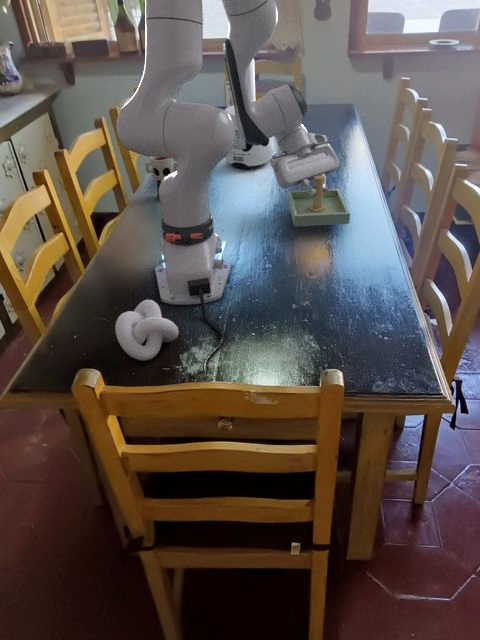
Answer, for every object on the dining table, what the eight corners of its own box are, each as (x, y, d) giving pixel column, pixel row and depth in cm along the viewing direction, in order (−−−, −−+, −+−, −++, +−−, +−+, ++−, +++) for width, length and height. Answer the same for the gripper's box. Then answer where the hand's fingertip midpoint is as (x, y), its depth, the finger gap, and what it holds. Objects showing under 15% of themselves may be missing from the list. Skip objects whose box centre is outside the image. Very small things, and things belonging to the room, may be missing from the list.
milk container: (265, 152, 196) (264, 100, 184) (278, 168, 183) (278, 113, 171) (220, 157, 192) (216, 105, 181) (230, 174, 179) (226, 119, 168)
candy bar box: (248, 128, 219) (246, 85, 209) (237, 130, 217) (234, 87, 207) (237, 121, 227) (235, 79, 217) (227, 123, 225) (224, 81, 215)
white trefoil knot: (185, 329, 111) (180, 294, 106) (175, 367, 102) (168, 330, 97) (133, 329, 112) (125, 294, 107) (118, 366, 103) (108, 329, 97)
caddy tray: (349, 223, 141) (352, 187, 135) (294, 226, 141) (294, 190, 135) (338, 198, 155) (340, 164, 148) (287, 201, 154) (288, 167, 148)
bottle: (249, 105, 247) (246, 31, 228) (259, 108, 242) (257, 33, 223) (235, 108, 243) (231, 33, 224) (245, 111, 238) (242, 36, 219)
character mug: (148, 202, 163) (140, 160, 155) (153, 193, 169) (146, 152, 161) (182, 202, 163) (177, 160, 155) (186, 192, 168) (181, 152, 160)
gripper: (272, 150, 136) (296, 197, 136) (330, 134, 146) (352, 178, 146) (262, 163, 142) (285, 208, 142) (318, 146, 151) (339, 189, 151)
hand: (319, 193), depth 144 cm, fingers closed on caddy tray, 2 cm apart
